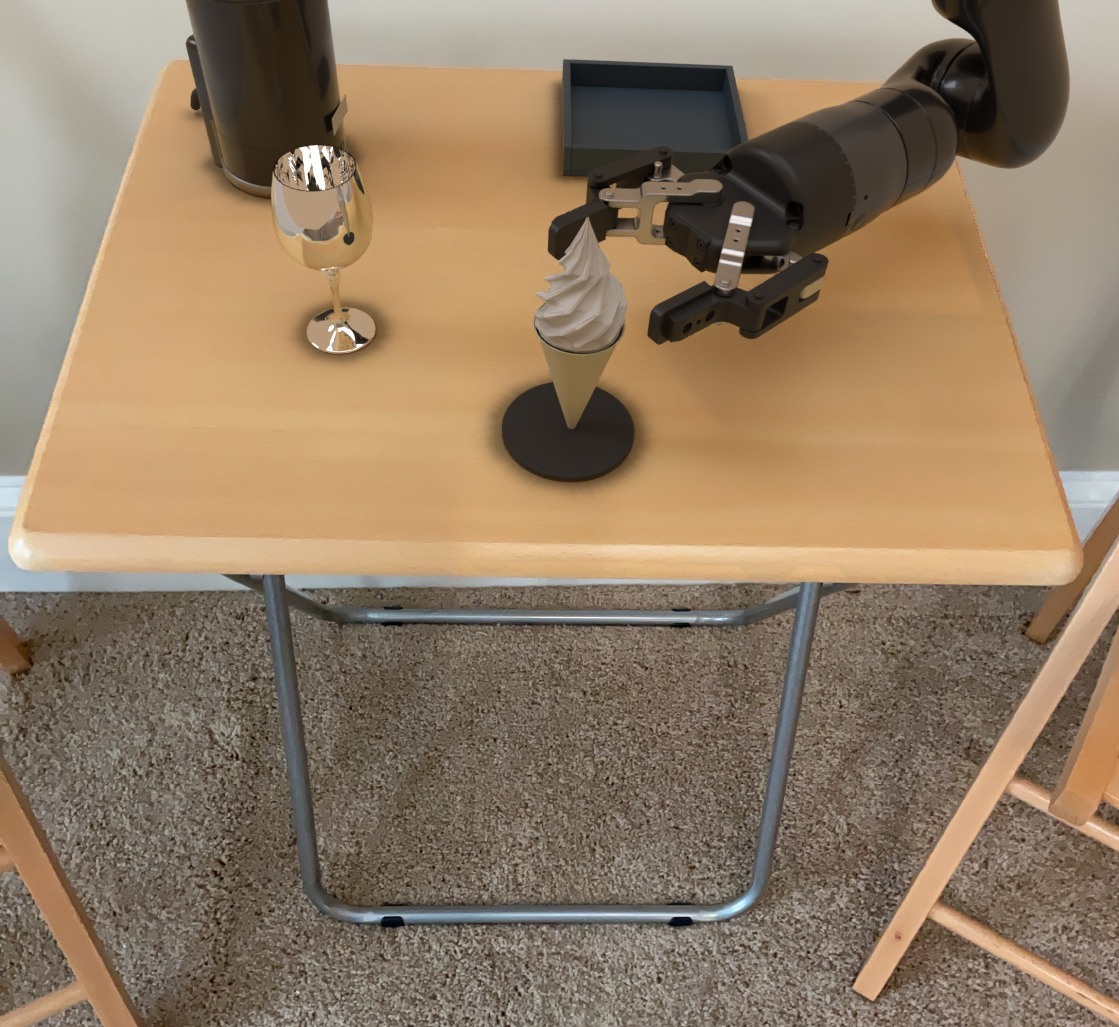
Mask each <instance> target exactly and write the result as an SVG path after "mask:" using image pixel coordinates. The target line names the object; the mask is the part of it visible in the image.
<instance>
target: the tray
mask: <svg viewBox="0 0 1119 1027" xmlns="http://www.w3.org/2000/svg"><path fill="white" fill-rule="evenodd" d="M561 71H562V72H561V74H562V75H561V139H562V141H561V142H562V144H561V146H562V176H573V177H575V176H576V177H588V173H589V172H590V171H592V170H595V169H597V168H600V167H603V166H606V165H608V164H611V163H614V162H617V161H619V160H622V159H625V158H628V157H630V156H633V155H636V154H639V153H641V152H644V151H647V150H650V149H652V148H655V147H658V146H666V147H669V148H671V149H672V150H673V159H672V165H674V166H675V167H676V168H677V169H679V170H680V171H681V172H683V173H684V174H688V173H696V172H705V171H709V170H710V169H712V168H713V167H714V166H715V165H716V164H717V163H718V162H719V161H720V160H721V159H722V158H723V157H724V155H725V154H726V153H727V152H729V151H730V150H731V149H732V148H734V147H735V146H737V145H739V144H741V143H744V142H746V141H748V140H749V137H748V136H749V135H748V131H747V126H746V122H745V118H744V113H743V107H742V104H741V103H742V102H741V99H740V95H739V94H740V93H739V90H738V85H737V81H736V75H735V71H734V65H725V64H724V65H723V64H701V63H699V64H698V63H677V62H676V63H673V62H652V61H651V62H646V61H626V60H625V61H624V60H623V61H622V60H621V61H620V60H600V59H599V60H598V59H597V60H596V59H574V58H572V59H569V58H568V59H567V58H563V59H562V70H561Z"/></svg>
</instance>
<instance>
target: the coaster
mask: <svg viewBox="0 0 1119 1027" xmlns="http://www.w3.org/2000/svg"><path fill="white" fill-rule="evenodd" d="M501 437H502V441H503V444H504V447H505V450H506V451H507V452H508V454H509V455H510V457H511V458H512V460H514V461H515V462H516V463H517V464H518V465H519V466H520V467H522V468H523V469H525V470H526V471H528V472H530V473H532V474H534V475H536V476H539V477H541V478H543V479H548V480H553V481H557V482H558V481H559V482H567V483H569V482H583V481H584V482H585V481H589V480H595V479H597V478H599V477H602V476H605V475H606V474H609V473H611V472H612V471H613V470H615V469H617V468H618V467H619V466H620V465H621V464H622V463H624V461H625V460H626V458H627V457H628V456H629V454H630V452H631V450H632V447H633V444H634V440H635V424H634V421H633V418H632V416H631V414H630V412H629V410H628V409H627V408H626V406H625V405H624V403H622V402H621V400H619V399H618V398H617V397H616V396H614V395H613V394H611V393H610V392H608V391H607V390H604V389H603V388H601V387H598V386H596V387H595V389H594V391H593V393H592V395H591V397H590V399H589V401H588V403H587V405H586V407H585V409H584V411H583V413H582V415H581V417H580V419H579V421H578V423H577V425H576V427H575V428H574V429H569V428H568V427H567V423H566V420H565V417H564V414H563V411H562V408H561V405H560V402H559V399H558V396H557V393H556V390H555V386H554V383H553V381H551V382H545V383H541V384H539V385H536V386H533V387H531V388H529V389H527V390H525V391H524V392H522V393H521V394H519V395H518V396H517V397H515V399H514V400H513V401H511V403H510V404H509V405H508V406H507V409H506V411H505V412H504V415H503V418H502V422H501Z"/></svg>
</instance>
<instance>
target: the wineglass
mask: <svg viewBox="0 0 1119 1027" xmlns="http://www.w3.org/2000/svg"><path fill="white" fill-rule="evenodd" d="M371 203H372V202H371V199H370V194H369V191H368V189H367V186H366V183H365V181H364V178H363V175H362V173H361V171H360V168H359V165H358V163H357V161H356V159H355V157H354V156H353V155H352V154H350V152H349V151H348V152H347V151H345V150H342V149H340V148H337V147H333V146H328V145H308V146H302V147H298V148H295V149H292V150H290V151H288V152H286V153H285V154H283V155H282V156H281V157H279V158H278V160H277V161H276V162H275V164H274V168H273V175H272V186H271V197H270V204H271V205H270V208H271V220H272V224H273V230H274V233H275V236H276V239H277V241H278V243H279V245H280V247H281V248H282V250H283V252H284V253H285V254H286V255H287V256H288V257H289V258H290V259H291V260H292V261H293V262H295V263H296V264H297V265H299V266H302V267H303V268H306V269H308V270H312V271H317V272H323V278H324V280H325V283H327V285H328V288H329V290H330V293H331V297H332V304H333V307H332V308H329V309H326V310H323V311H322V312H319V313H317V314H316V315H315V316H313V318H312V319H311V320H310V321H309V322H308V324H307V327H306V330H305V332H306V338H307V340H308V342H309V343H310V344H311V345H312V346H313V347H314V348H316V349H317V350H319V351H321V352H324V353H328V354H332V355H333V354H335V355H342V354H343V355H344V354H349V353H353V352H356V351H359V350H361V349H363V348H365V347H366V346H367V345H368V344H369V343H370V342H371V341H372V340H373V339H374V338H375V336H376V330H377V328H376V323H375V321H374V319H373V318H372V316H371V315H369V314H368V313H367V312H365V311H364V310H361V309H359V308H355V307H348V306H342V303H341V297H340V282H341V275H342V274H341V270H343V269H345V268H347V267H349V266H351V265H353V264H355V263H356V262H357V261H359V260H360V259H361V258H362V257H363V256H364V255H365V253H366V252H367V250H368V248H369V246H370V244H371V242H372V239H373V234H374V213H373V207H372V204H371Z"/></svg>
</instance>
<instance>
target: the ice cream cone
mask: <svg viewBox="0 0 1119 1027" xmlns="http://www.w3.org/2000/svg"><path fill="white" fill-rule="evenodd" d="M565 253H566V255H565V256H564V257H563V258H561V259H560V260H557V264H558V265H560V266H562V267H563V268H564V270H563V271H562V272H561V273H558V274H557V273H555V274H547V275H546V276H545V277H544V279H543V280H544V281H546V282H548V283H549V285H550V288H549V289H547V290H538V291H537V292H535V296H536V298H538V299H540V300H542V301H544V302H543V303H542V304H541V305H540V306H539V307H538V308H537V309H536V310H535V311H534V315H533V317H532V328H533V330H534V333H535V335H536V337H537V338H538V340H539V342H540V346H541V350H542V353H543V355H544V359H545V362H546V365H547V368H548V371H549V374H550V378H551V380H552V382H553V383H554V386H555V390H556V393H557V396H558V399H559V402H560V405H561V408H562V411H563V414H564V417H565V420H566V423H567V427H568V428H569V429H574V428H575V427H576V425H577V423H578V421H579V419H580V417H581V415H582V413H583V411H584V409H585V407H586V405H587V403H588V401H589V399H590V397H591V395H592V393H593V391H594V389H595V387H597V386H598V384H599V382H600V379H601V378H602V374H603V372H604V370H605V368H606V366H607V365H608V363H609V360H610V359H611V357H612V355H613V353H614V351H615V349H616V347H617V345H618V344H619V343H620V342H621V340H622V339H623V337H624V335H625V332H626V315H627V314H626V313H627V309H628V305H629V304H628V301H627V297H626V294H625V291H624V287H623V284H622V282H621V280H619V278H617V277H616V276H614V274H613V273H611V272H610V268H611V263H610V260H609V258H607V255H605V253H604V251H603V250H602V248H601V245H600V243H598V241H597V239H596V236H595V234H594V231H593V229H592V226H591V223H590V220H589V217H587V218H586V220H585V222H584V224H583V226H582V227H581V229H580V230H579V232H578V234H577V235H576V237H575V238H574V240H573V242H572V243H571V245H570V246H569V247H568V249H567V250H566V251H565Z"/></svg>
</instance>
